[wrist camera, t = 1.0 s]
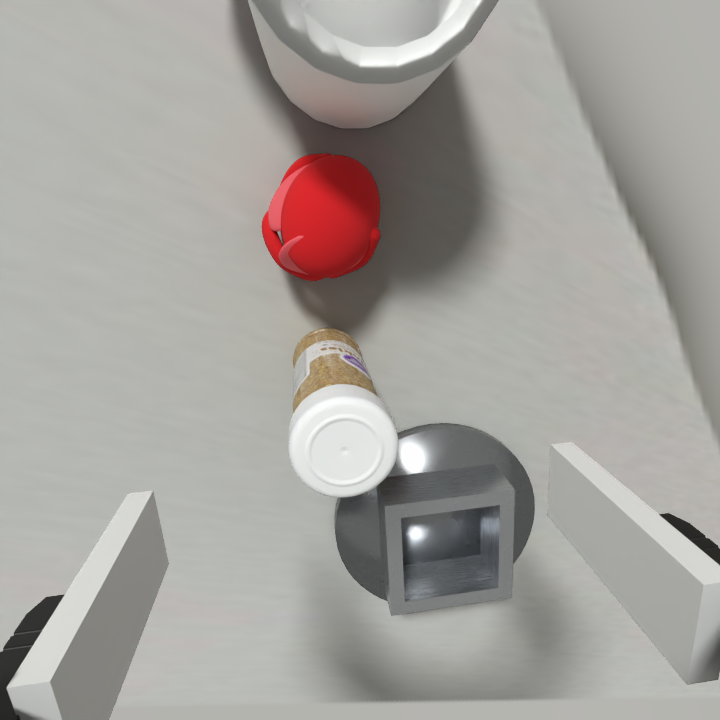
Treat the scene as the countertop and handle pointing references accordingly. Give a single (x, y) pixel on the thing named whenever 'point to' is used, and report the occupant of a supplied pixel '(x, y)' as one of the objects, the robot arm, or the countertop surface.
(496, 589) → the square hole disc
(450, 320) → the countertop surface
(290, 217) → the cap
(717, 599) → the robot arm
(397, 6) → the mug
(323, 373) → the sprinkles bottle
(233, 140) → the countertop surface
